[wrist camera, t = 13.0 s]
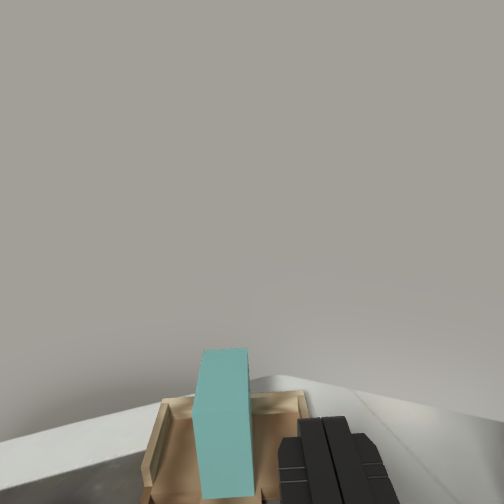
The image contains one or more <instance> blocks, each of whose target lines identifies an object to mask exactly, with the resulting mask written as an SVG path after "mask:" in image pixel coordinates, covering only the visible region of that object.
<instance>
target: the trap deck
mask: <svg viewBox="0 0 504 504" xmlns="http://www.w3.org/2000/svg"><path fill="white" fill-rule="evenodd" d="M250 396H251V411H252V431H253V461H254V491H255V496H247V497H231V498H216V499H202V491H201V483H200V475H199V467H198V459H197V452H196V444H195V436H194V428H193V420H192V409H193V403H194V398H195V397H181V398H164V399H162V402H161V406H160V409H159V412H158V415H157V418H156V421H155V424H154V427H153V431H152V434H151V437H150V440H149V443H148V446H147V449H146V452H145V456H144V459H143V462H142V465H141V471H142V477H143V482H144V490H143V493H142V497H141V500H140V503H139V504H262V500H277V499H280V491H279V473H278V449H279V446H280V444H281V441H282V439H283V437H297V419H299V418H310V417H309V413H308V408H307V404H306V400H305V395H304V391H303V390H302V391H285V392H267V393H250Z"/></svg>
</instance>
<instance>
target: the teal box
mask: <svg viewBox="0 0 504 504" xmlns="http://www.w3.org/2000/svg"><path fill="white" fill-rule="evenodd" d="M192 420H193V428H194V436H195V444H196V452H197V459H198V467H199V475H200V483H201V491H202V499H216V498H231V497H247V496H255V491H254V461H253V431H252V411H251V396H250V382H249V368H248V353H247V348H236V349H221V350H204V351H203V355H202V360H201V366H200V371H199V376H198V382H197V387H196V393H195V398H194V403H193V409H192Z"/></svg>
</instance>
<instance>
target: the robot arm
mask: <svg viewBox="0 0 504 504" xmlns="http://www.w3.org/2000/svg"><path fill="white" fill-rule="evenodd" d="M278 473H279V491H280V503H281V504H400V503H399V500H398V498H397V496H396V493H395V491H394V488H393V486H392V483H391V481H390V479H389V478H388V474H387V471H386V469H385V466H384V465H383V462H382V459H381V457H380V454H379V452H378V450H377V447H376V445H375V444H374V443H373V442H372V441H371V440H370V439H369V438H368V437H367V436H366V435H365V434H364V433H356V434H351V432H350V429H349V426H348V423H347V421H346V418H345V416H335V417H321V418H320V417H318V418H299V419H297V437H283V439H282V441H281V444H280V446H279V449H278Z"/></svg>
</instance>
